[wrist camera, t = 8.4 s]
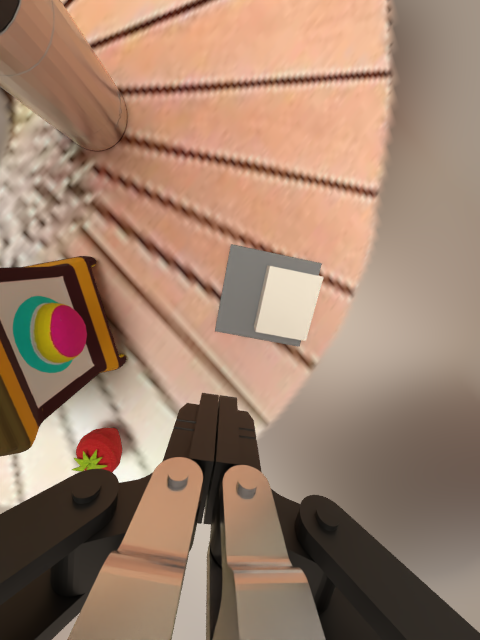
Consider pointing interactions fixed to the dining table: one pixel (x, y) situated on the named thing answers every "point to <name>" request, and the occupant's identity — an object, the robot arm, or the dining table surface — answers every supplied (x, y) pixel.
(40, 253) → the dining table surface
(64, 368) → the decorative lantern
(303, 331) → the block
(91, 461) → the strawberry
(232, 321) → the mat
